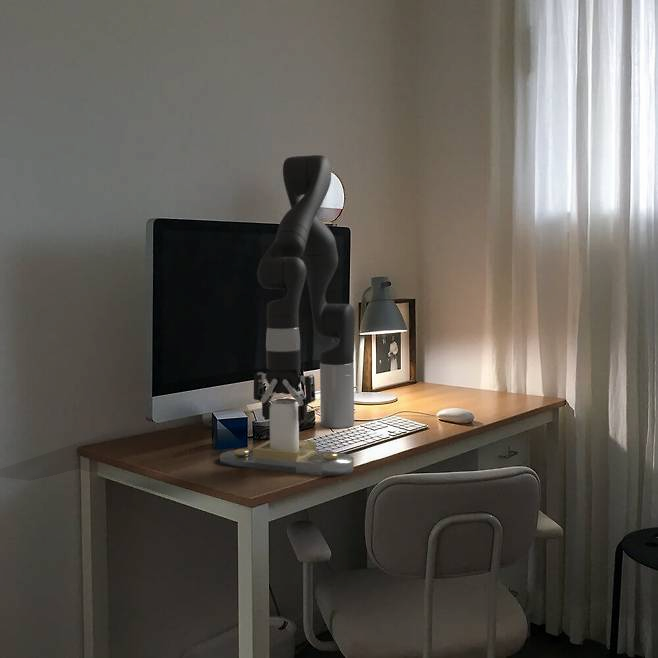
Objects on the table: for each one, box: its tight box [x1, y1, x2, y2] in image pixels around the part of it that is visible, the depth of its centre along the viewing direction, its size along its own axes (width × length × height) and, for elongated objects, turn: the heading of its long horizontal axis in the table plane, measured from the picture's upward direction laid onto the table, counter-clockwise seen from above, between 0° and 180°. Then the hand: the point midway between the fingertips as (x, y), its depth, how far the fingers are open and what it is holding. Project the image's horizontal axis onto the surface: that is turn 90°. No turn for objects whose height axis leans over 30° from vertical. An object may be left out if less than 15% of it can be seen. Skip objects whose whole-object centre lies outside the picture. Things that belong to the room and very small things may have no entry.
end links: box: [219, 439, 355, 477], centre depth 172 cm, size 32×11×4 cm, turn 67°
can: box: [269, 397, 300, 451], centre depth 172 cm, size 6×6×12 cm
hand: (284, 420), depth 172 cm, fingers open, 8 cm apart
